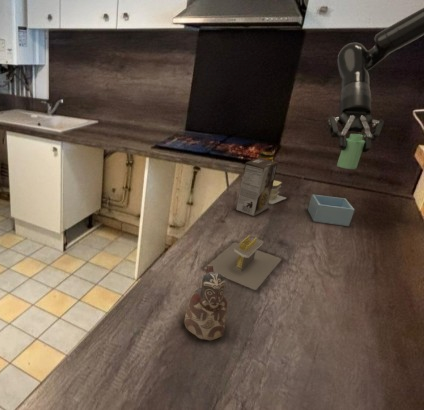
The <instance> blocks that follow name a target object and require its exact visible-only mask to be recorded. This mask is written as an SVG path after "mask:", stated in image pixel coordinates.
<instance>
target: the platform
mask: <svg viewBox="0 0 424 410" xmlns="http://www.w3.org/2000/svg"><path fill="white" fill-rule="evenodd" d="M250 237H251V235H250V234H249V235H247V236H246V237H245V238H243V239H242V240H241V241H240V242H235V241H234V242H233V243H232V244H230V246H228V247H227V248H226V249H225V250H223V251H222V252H221V253H219V254H218V256H216V257H215V258H214V259H213V260H212V261H210V262H209V264H207V265H206V266H205V267H203V270H205V271H206V270H207V266H208V265H212V266H213V271H214V272H217V273H219V274H220V275H221V276H222V277H223V278H224V279H227V280H229V281H232V282H234V283H237V284H239V285H241V286H243V287H246V288H249V289H251V290H254V291H257V290H258V289H259V287H260V286H261V285H262V284H263V283H264V282H265V280H266V279H267V278H268V276H269V275H270V274H271V273H272V272H273V271H274V269H275V268H276V267H277V265H279V263H280V262H281V261H282V260H283V258H282V257H279V256H276V255H274V254H273V255H272V254H270V253H267V252H265V251H262V250H259V248H260V247H261V246H262V245H263V244H264V240H262V239H259V238H258V237H257V236H255V238H250Z"/></svg>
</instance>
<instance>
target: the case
mask: <svg viewBox="0 0 424 410" xmlns="http://www.w3.org/2000/svg"><path fill="white" fill-rule="evenodd" d="M307 211H308V213H309V215H310V217H311V218H312V221H313V222H315V223H323V224H330V225H335V226H337V225H338V226H344V227H350V224H351V221H352V218H353V216H354V213H355V211H356V210H355V208H354V206H353V205H352V204H351V203H350V202H349V201H348V200H347V199H346V198H345V197H337V196H331V195H321V194H320V195H319V194H311V198H310V201H309V205H308V207H307Z"/></svg>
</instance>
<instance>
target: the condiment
mask: <svg viewBox="0 0 424 410" xmlns="http://www.w3.org/2000/svg"><path fill="white" fill-rule="evenodd" d="M274 157H275V154H274V152H272V151H259V153H258V155H257V158H263V159H268V160H271V161H274Z"/></svg>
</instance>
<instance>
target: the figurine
mask: <svg viewBox="0 0 424 410" xmlns="http://www.w3.org/2000/svg"><path fill="white" fill-rule="evenodd" d="M207 265H208V266H207ZM207 265H206V266H207V270H206V269H205V274H203V276H202V280H201V287H199V288H197V289H196V290H195V291H193V293H192V295H191V296H190V299H189V302H188V305H187V308H186V311H185V315H184V327H185V328H186V330H188V331H189V332H190V333H191V334H193V335H194V336H195V337H197V338H198V339H199V340H207V341H213V340H217V339H218V338H221V337H223V336H224V334H225V330H226V321H227V313H228V300H227V298H226V296H225V295H224V294H225V285H226V284H227V283H226V280H225V278H224V277H222V276H221V275H220V274H219V273H217V272H214V271H213V266H212V265H209V264H207Z"/></svg>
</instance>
